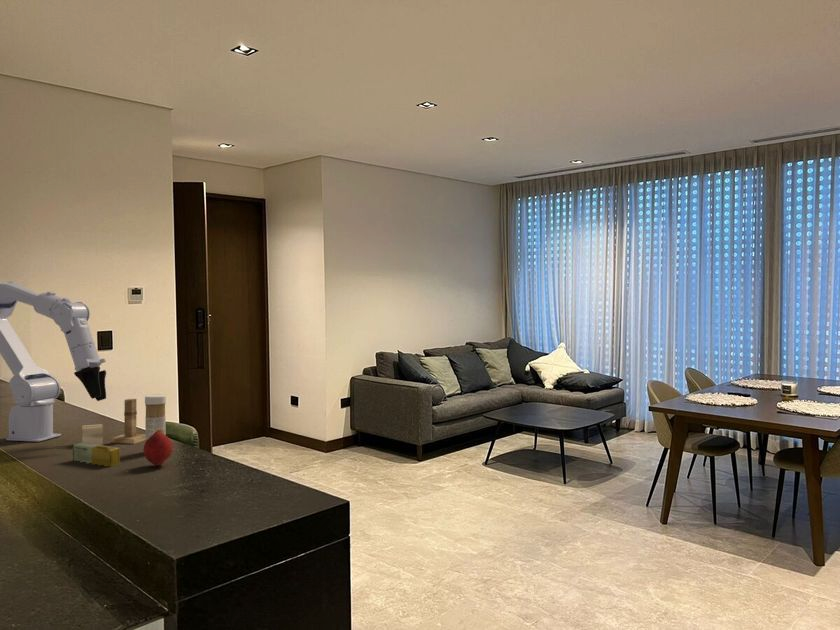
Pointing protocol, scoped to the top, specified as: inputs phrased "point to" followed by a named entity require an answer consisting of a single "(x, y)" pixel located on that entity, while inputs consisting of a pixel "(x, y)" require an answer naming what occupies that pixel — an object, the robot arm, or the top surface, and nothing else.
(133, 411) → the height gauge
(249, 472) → the top surface
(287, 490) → the top surface
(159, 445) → the onion
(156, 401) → the sprinkles bottle
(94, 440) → the cube
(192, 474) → the top surface
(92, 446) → the medication box
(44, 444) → the top surface
